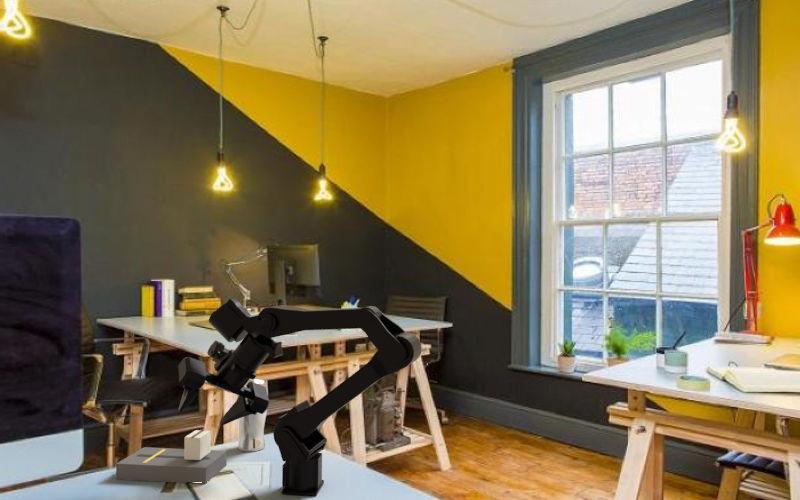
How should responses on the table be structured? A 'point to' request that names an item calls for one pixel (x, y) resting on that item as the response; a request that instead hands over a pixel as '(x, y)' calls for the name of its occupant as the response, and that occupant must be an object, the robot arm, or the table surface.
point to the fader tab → (197, 445)
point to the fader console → (170, 466)
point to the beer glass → (252, 426)
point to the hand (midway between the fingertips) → (200, 417)
